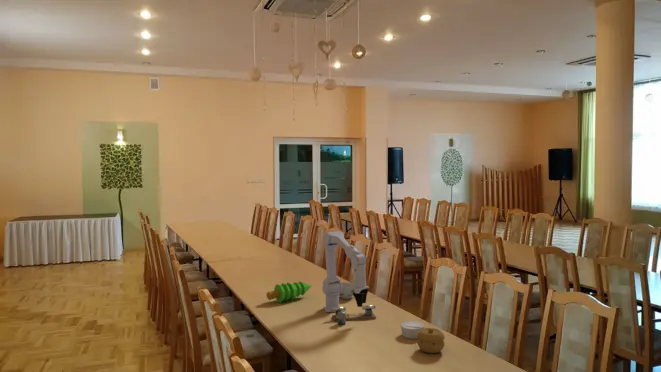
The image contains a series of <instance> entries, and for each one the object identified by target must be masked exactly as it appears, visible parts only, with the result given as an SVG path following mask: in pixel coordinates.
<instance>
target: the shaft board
mask: <svg viewBox="0 0 661 372" xmlns="http://www.w3.org/2000/svg"><path fill="white" fill-rule="evenodd" d="M345 315H347V318H346V322H347V321H361V320H362V321H364V320H374V319H375V320H376V319H377V316H376V314H375V313H374V312H373V311H372V316H366V314H365V312H359V313H358V312H357V313H345ZM331 317H332V319H333V321H334V322H338V318H336V316H335V314H332V316H331Z"/></svg>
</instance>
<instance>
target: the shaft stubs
mask: <svg viewBox="0 0 661 372" xmlns="http://www.w3.org/2000/svg"><path fill="white" fill-rule="evenodd" d="M375 309H376V304H369V305H362V307H361V310H364V313H365V314H366V316H372V312H373V310H375ZM346 310H347V308H346V306H339V307H332V311H335V312H334V313H335V314H334V315H335V316H338V312H339V311H344V312H346Z"/></svg>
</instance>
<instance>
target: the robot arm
mask: <svg viewBox="0 0 661 372" xmlns="http://www.w3.org/2000/svg"><path fill="white" fill-rule="evenodd" d="M322 241H323V242H322V243H323V247H324V251H325V252H324V254H325V265H326V266H325V267H326V277H325V278H324V279H323V281H322V289H321V290H322V293H323V294H324V295H325V306H323V308H324V310H325V312H326V313H335V311H332V307H340V298H339V297H340V296H339V294H340V292H341V291H342V285H341V283H342V282H341V278H339V277H338V276H337V265H336V263H337V262H336V252H335V248H336V246H338V245H339V246H340V247H341V248H342V249H343V250H344V253H345V255H346V256H347V257H348V258H349V259H350V263H351V265H352V268H353V269H352V270H353V274H354V275H353V276H354V278H353V279H354V284H355V292H353V296H352V297H354V299H355V302H356V306H357V307H358V308H362V306H363V304H366V302H367V296H368V292H369V288H370V287H369V286H368V285H367V277H366V276H367V275H366V265H367V263H368V257H367V255H366V254H365V253H363V252H360V251H359V250H358V249H357V248H356V246H354V245H352V244H350V243H348V241H347V240H346V239H345V235H344V233H343V232H342V231H341V230H338V231H330V232H328V231H327V232H324V234H323V236H322Z"/></svg>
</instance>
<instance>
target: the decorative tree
mask: <svg viewBox="0 0 661 372" xmlns="http://www.w3.org/2000/svg"><path fill="white" fill-rule="evenodd" d="M312 287H313V285H311V284H308V283H305V282H302V281H298V282H295V281H294V282H293V283H292V282H286V283H283V282H282V283H281V284H277V283H276V285H275V286H274V288H273V290H271V291H267V293H265V295H266V298H267V300H269V301H271V300H274V299H275V300H276V301H278V303H279V302H280V303H279V304H281V303H282V302H287V301H293V300H294V299H296V297H300V295H301V296H304V295H305V294H306V293H307V292H308V291H309V289H311V288H312Z"/></svg>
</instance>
